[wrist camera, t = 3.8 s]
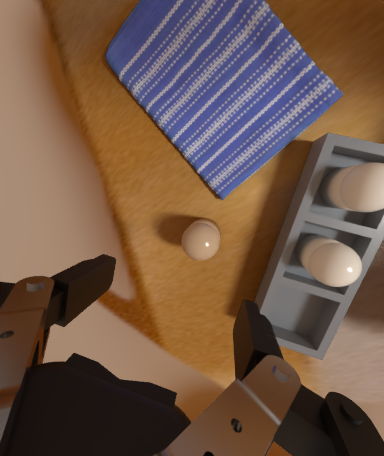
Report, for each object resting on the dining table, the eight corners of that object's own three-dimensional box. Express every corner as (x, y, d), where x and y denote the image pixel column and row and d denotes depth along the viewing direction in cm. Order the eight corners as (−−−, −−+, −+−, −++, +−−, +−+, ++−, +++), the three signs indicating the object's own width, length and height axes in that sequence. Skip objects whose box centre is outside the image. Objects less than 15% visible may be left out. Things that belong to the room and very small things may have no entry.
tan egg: (224, 223, 26) (224, 232, 20) (215, 253, 27) (212, 272, 21) (192, 214, 27) (182, 221, 21) (184, 244, 28) (173, 259, 22)
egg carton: (395, 158, 21) (426, 153, 18) (310, 339, 27) (322, 360, 24) (313, 141, 22) (328, 132, 19) (247, 318, 28) (250, 335, 25)
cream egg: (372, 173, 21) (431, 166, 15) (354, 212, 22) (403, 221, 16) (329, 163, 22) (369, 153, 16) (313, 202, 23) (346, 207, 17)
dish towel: (204, -67, 21) (201, -105, 18) (339, 102, 22) (355, 89, 19) (107, 64, 25) (92, 49, 23) (221, 201, 26) (221, 202, 23)
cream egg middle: (342, 240, 23) (384, 257, 17) (326, 273, 24) (361, 302, 18) (303, 229, 24) (330, 243, 17) (289, 263, 25) (311, 287, 18)
